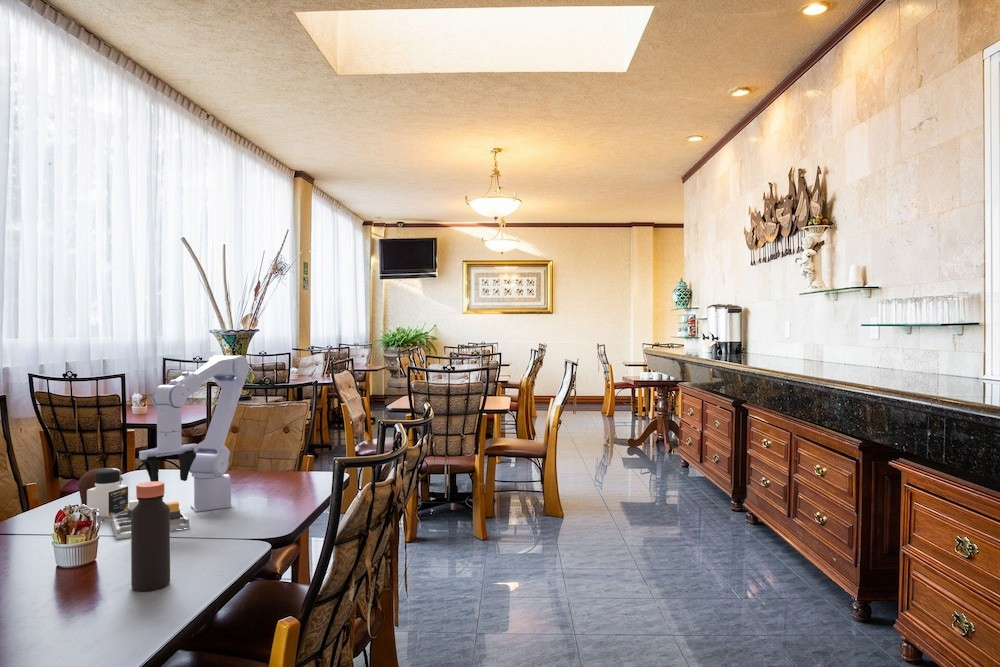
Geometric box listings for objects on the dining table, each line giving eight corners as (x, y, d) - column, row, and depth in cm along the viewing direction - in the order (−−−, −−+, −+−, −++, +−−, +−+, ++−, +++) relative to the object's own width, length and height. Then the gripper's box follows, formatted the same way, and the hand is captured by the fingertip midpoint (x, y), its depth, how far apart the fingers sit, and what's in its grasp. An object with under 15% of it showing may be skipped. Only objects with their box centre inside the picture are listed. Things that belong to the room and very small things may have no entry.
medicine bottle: (109, 517, 182) (108, 472, 182) (86, 516, 183) (86, 471, 183) (128, 510, 189) (128, 467, 189) (106, 509, 190) (106, 466, 190)
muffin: (67, 506, 193) (67, 471, 193) (103, 497, 204) (103, 464, 203) (97, 510, 189) (96, 474, 189) (132, 501, 199) (131, 467, 199)
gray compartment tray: (177, 512, 187) (177, 504, 187) (189, 528, 172) (189, 519, 172) (110, 521, 178) (110, 513, 178) (116, 539, 163) (116, 530, 163)
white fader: (140, 515, 178) (140, 499, 178) (141, 518, 176) (141, 501, 176) (127, 517, 177) (127, 500, 177) (128, 520, 174) (128, 502, 174)
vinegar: (129, 594, 129) (129, 489, 129) (133, 582, 135) (132, 482, 135) (169, 588, 132) (168, 486, 132) (170, 577, 138) (170, 479, 138)
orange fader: (178, 518, 176) (178, 501, 176) (180, 520, 174) (180, 503, 174) (165, 519, 174) (165, 502, 174) (167, 522, 172) (167, 505, 172)
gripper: (188, 426, 185) (188, 476, 185) (133, 432, 174) (133, 485, 174) (202, 428, 181) (202, 479, 181) (146, 435, 169) (146, 489, 169)
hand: (169, 482), depth 177 cm, fingers open, 7 cm apart
